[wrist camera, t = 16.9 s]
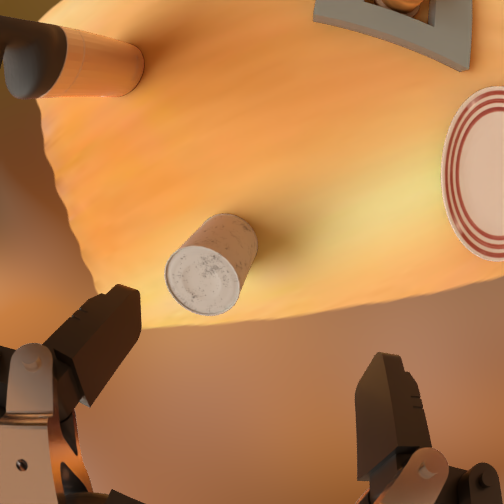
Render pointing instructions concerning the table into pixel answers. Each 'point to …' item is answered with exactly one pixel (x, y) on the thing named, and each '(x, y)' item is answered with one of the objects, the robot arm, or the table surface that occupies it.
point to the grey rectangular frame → (408, 27)
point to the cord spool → (400, 6)
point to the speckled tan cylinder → (212, 265)
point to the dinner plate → (476, 173)
